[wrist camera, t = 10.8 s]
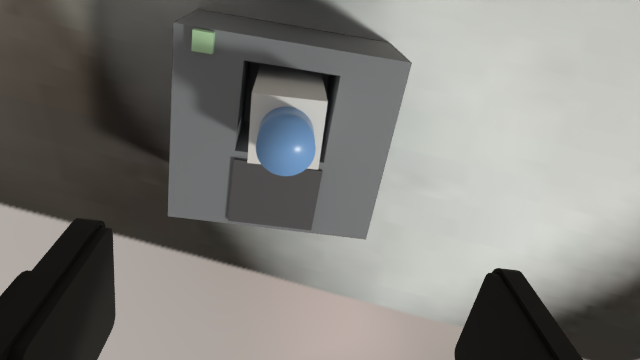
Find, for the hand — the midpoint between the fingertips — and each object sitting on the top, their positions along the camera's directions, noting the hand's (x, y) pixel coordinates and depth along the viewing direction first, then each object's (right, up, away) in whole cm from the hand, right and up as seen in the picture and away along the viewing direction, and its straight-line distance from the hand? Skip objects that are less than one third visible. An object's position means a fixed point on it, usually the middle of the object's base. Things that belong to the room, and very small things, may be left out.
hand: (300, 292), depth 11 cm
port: (-2, +7, +19) cm, 20 cm away
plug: (-2, +9, +17) cm, 19 cm away
